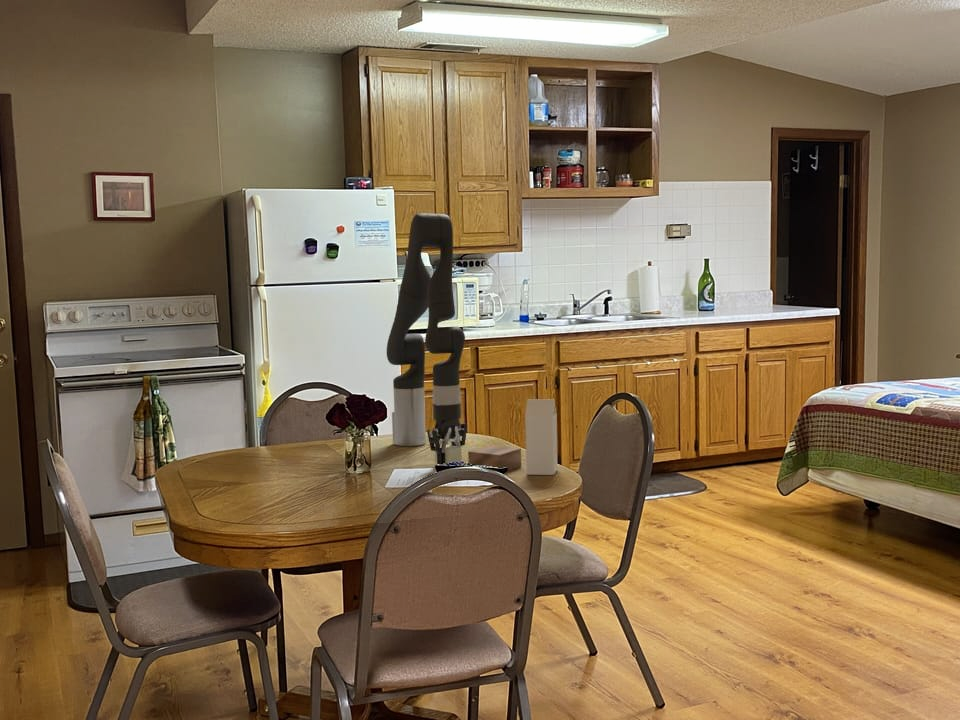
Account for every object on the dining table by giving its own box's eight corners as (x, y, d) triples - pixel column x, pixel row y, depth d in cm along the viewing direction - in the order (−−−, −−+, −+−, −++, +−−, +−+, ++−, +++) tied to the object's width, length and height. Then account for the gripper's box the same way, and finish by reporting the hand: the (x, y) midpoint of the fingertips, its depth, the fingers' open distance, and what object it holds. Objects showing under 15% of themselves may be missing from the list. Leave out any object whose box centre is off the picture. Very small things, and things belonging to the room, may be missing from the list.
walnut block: (468, 470, 265) (468, 451, 264) (490, 463, 273) (490, 445, 272) (499, 474, 259) (499, 455, 258) (521, 467, 267) (520, 448, 266)
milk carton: (554, 475, 254) (552, 401, 252) (526, 475, 256) (524, 401, 254) (557, 469, 261) (556, 397, 259) (530, 469, 263) (529, 397, 261)
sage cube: (435, 466, 269) (434, 448, 269) (447, 463, 273) (447, 445, 273) (449, 468, 266) (449, 449, 266) (461, 465, 270) (461, 446, 269)
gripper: (453, 397, 276) (455, 458, 277) (418, 404, 265) (420, 467, 266) (474, 399, 271) (476, 461, 273) (439, 406, 260) (441, 470, 262)
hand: (448, 464), depth 270 cm, fingers closed on sage cube, 5 cm apart
